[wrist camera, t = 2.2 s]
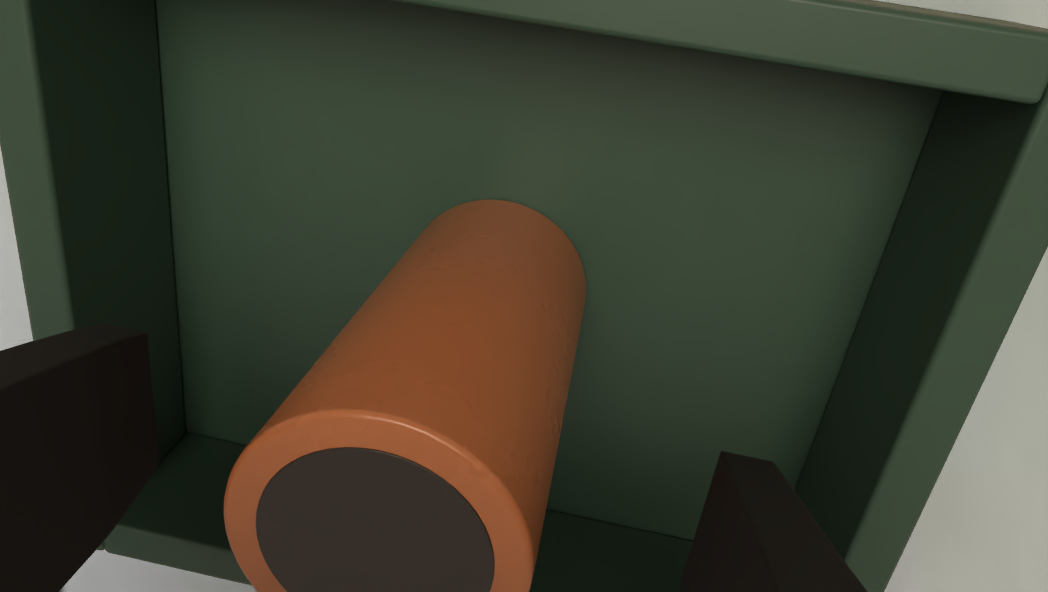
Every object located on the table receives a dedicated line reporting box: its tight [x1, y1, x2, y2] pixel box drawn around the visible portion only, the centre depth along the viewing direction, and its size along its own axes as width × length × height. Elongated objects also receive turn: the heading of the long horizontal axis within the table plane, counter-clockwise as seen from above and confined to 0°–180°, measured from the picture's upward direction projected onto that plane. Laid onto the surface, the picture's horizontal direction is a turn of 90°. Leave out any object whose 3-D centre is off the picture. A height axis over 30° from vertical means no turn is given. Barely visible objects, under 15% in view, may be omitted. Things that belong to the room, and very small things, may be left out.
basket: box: [0, 0, 1048, 592], centre depth 13 cm, size 15×12×4 cm
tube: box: [224, 200, 586, 592], centre depth 11 cm, size 3×3×7 cm
